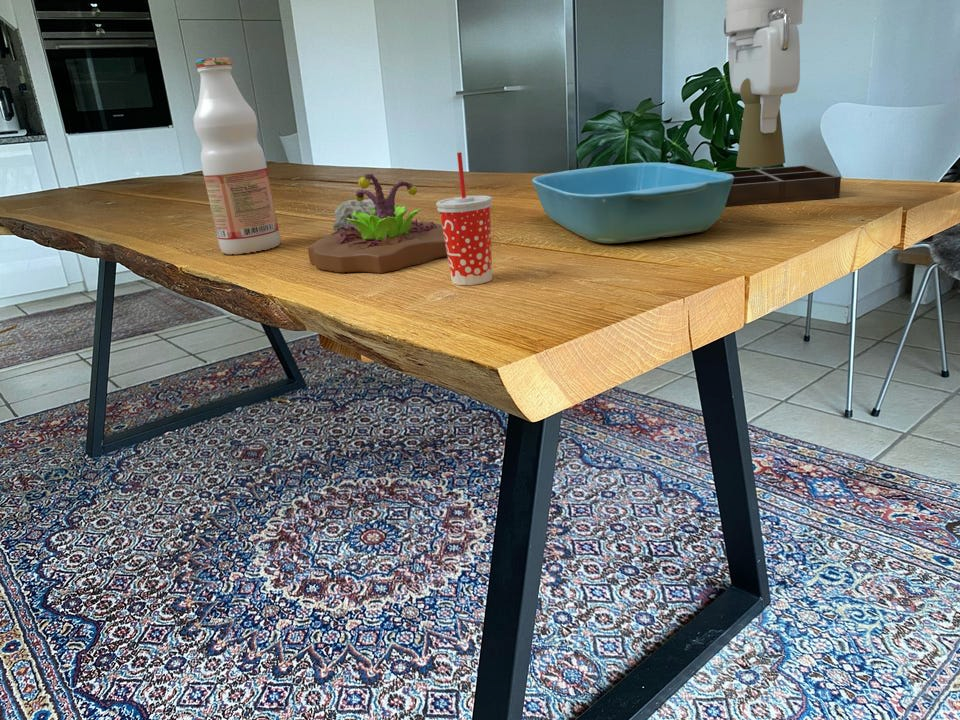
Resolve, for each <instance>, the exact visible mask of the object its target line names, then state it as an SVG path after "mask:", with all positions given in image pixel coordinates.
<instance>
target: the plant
mask: <svg viewBox="0 0 960 720" xmlns="http://www.w3.org/2000/svg"><path fill="white" fill-rule="evenodd" d="M370 181H372V183H373V187H374V191H375V193H372V192H371V191H369V190H366V189H367V188H369V186H370V183H371V182H370ZM357 184H358V186H359V188H360V189H358V190H356V192H355V193H354V198H355V200H357V201H360V202H361V201H363V200H365V196H367V197H368V199H371V200H372V201H373V203H374V204H375V208H372V209H371V216H370V215H368V214H366V213H363V212H357V211H355V212H354V214H353V215H354V216H355V217H356V218H357V219H358V220H359V221H358V220H353V219H349V218H347V220H348V221H350V222H351V223H353V224H355V225H356V226H357V229H355V228H354V227H353V226H350V227H348V228H347V229H346V228H344V227H339V228H338V230H337V232H336V231H335V232H334V233H332V234H330V235H327V236H325V237H322V238H320V239H319V240H317V241H315V242H314V243H312V244H310V245H308V246H307V251H308V252H307V253H308V259H309V263H310V264H311V265H314V266H315V267H316V269H319V270H321V271H326V270H327V271H326V272H333V271H334V272H333V273H340V272H341V274H343V273H344V274H345V272H347V273H357V272H359V273H361V272H362V273H372V274H373V273H376V274H384V273H388V272H395V271H399V270H402V269H404V268H408V267H413V266H417V265H421V264H424V263H428V262H431V261H434V260H436V259H441V258H448V256H447V251H446V245H445V239H444V233H443V228H442V224H438V223H435V222H434V221H419V222H418V219H417V218H415V220H413V218H414V217H415V216H416V215H418V213H419V212H420V211H421V208H420V207H419V208H417V209H414V210H412V211H410V213H408V215H407V216H406V218H405V219H404V216H405V214H407V212H408V211H407V209H406V205H402V206H400V205H395V204H396V203H395V201H396V200H395V199H396V194H397V192H398V189H400V187H403V186H406V190H407V193H408V194H409V195H411V196H415V195H416V194H417V192H418V189H417V187H416V186H415V185H414V184H413V183H411V182H407V181H404V180H401V181H400V182H399V181H398V182H397V183H395V184H394V185H393V186H392V187H391V190H389V191H388V192H389V193H388V195H387V197H386V198H385V195H384V192H383V187H382V185H381V184H380V181H379V180H378V178H377V177H376V176H374V174H373V173H370V174H369V173H367V174H365V173H364V175H362V176H361V177H360V178H359V179H358V183H357ZM350 228H351V229H350ZM339 229H344V230H341V231H340V232H339V233H338V231H339ZM412 265H413V266H412Z"/></svg>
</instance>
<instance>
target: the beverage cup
mask: <svg viewBox="0 0 960 720" xmlns="http://www.w3.org/2000/svg"><path fill="white" fill-rule="evenodd" d="M456 155H457V156H456V157H457V166H458V175H459V186H460V187H459V188H460V194H461V195H460V196H457V197H451V198H444V199H441V200H439V201H437V202H436V204H435V205H436V207H437V209H436V211H437V212H439V215H440V221H441V222H440V223H441V225H442V228H443V233H444V239H445V245H446V251H447V262H448V267H449V272H450V278H451V283H453V285H457V286H473V285H481V284H484V283H488V282H490V281H491V280H492V279H493V260H492V259H493V258H492V253H493V252H492V224H491V222H492V221H491V220H492V219H491V207H492V206H493V202H492V201H493V197H492V196H490V195H466V194H467V193H466V183H465V175H464V173H465V172H464V165H463V164H464V163H463V155H462V152H461V151H460V152H457V153H456Z"/></svg>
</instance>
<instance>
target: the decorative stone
mask: <svg viewBox="0 0 960 720" xmlns="http://www.w3.org/2000/svg"><path fill="white" fill-rule="evenodd" d="M372 208H375V204H374V203H373V201H372V200H371V199H370V198H368V199H364V200H363V201H361V202H360V201H357V200H356V199H348V200H346V201H343V202H342V203H341V204H339V205H338V207H337V208H336V209H335V211H334V213H333V214H334V217H335V219H334V221H333V226H332V227H333V229H334V231H335V233H336V232H337V230H338V228H339V227H344V228H346V229H347V228H348V227H350V226H353V227H354V228H355V229H357V226H356V225H355V224H353V223H351V222H350V221H348V220H347V218H349V219H353V220H358V219H357V218H356V217H355V216H354V215H353V214H354V212H355V211H357V212H363V213H366V214H368V215H370V216H371V209H372ZM358 221H359V220H358ZM350 229H351V228H350ZM341 230H344V229H339V231H338V233H339V232H340V231H341Z"/></svg>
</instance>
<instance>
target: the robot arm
mask: <svg viewBox="0 0 960 720" xmlns="http://www.w3.org/2000/svg"><path fill="white" fill-rule="evenodd" d="M803 9H804V0H725V18H724V21H723V36H724V37H728V41H727V43H728V44H727V52H728V69H729V81H730V86H731V90H732V93H734V94H739V95H740V88H741V84H742V83H743V81H744V80H745V79H747V78H749V80H750V84H751V92H752V94H754V95H760V104H761V116H760V118H759V131H760V132H761V133H773V132H775V131H776V125H777V115H778V111H779V108H781V104H782V97H781V94H783V95H787V94H794V93H796V92H797V91H798V89H799V85H800V81H801V46H800V44H801V42H800V32H799V28H798V25H802V23H803V12H804V11H803Z"/></svg>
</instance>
